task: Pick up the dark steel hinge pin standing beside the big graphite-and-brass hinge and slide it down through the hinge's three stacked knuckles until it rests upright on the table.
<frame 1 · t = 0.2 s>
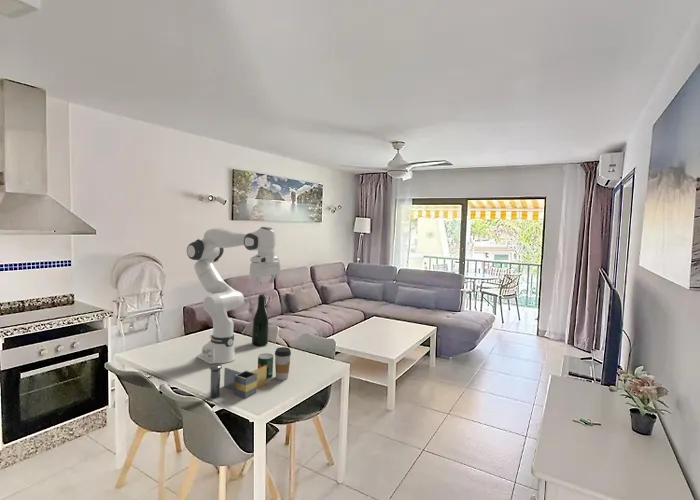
hand: (265, 284, 199), 48 cm above the table, fingers open, 8 cm apart
hinge pin: (214, 396, 172), on the table
green wine bottle: (259, 344, 247), on the table
canned tomato: (265, 376, 197), on the table
coffee cup: (281, 378, 196), on the table
hinge leaves: (245, 393, 176), on the table
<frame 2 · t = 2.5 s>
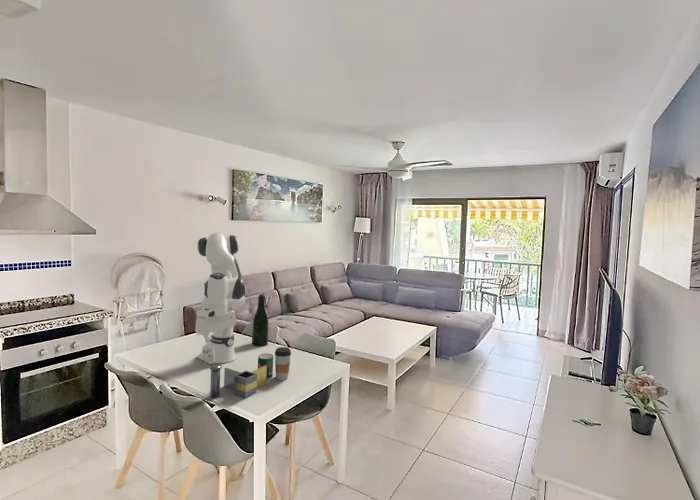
hand: (216, 340, 170), 26 cm above the table, fingers open, 8 cm apart
nothing on the table moved.
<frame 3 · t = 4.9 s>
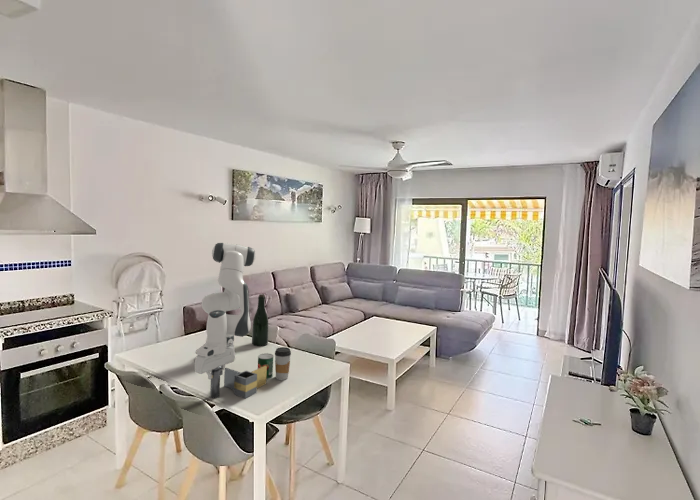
hand: (215, 376, 171), 9 cm above the table, fingers closed on hinge pin, 4 cm apart
hinge pin: (214, 396, 172), on the table, touching gripper
everything else where it was.
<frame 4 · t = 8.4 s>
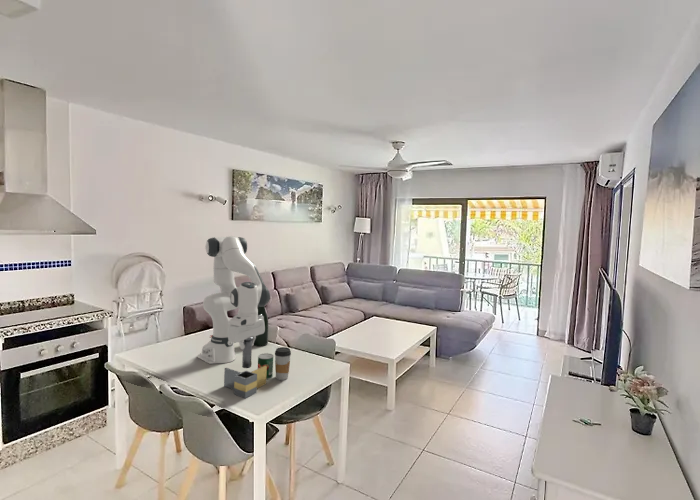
hand: (247, 347, 175), 22 cm above the table, fingers closed on hinge pin, 4 cm apart
hinge pin: (246, 366, 175), point 13 cm above the table, touching gripper
everything else where it was.
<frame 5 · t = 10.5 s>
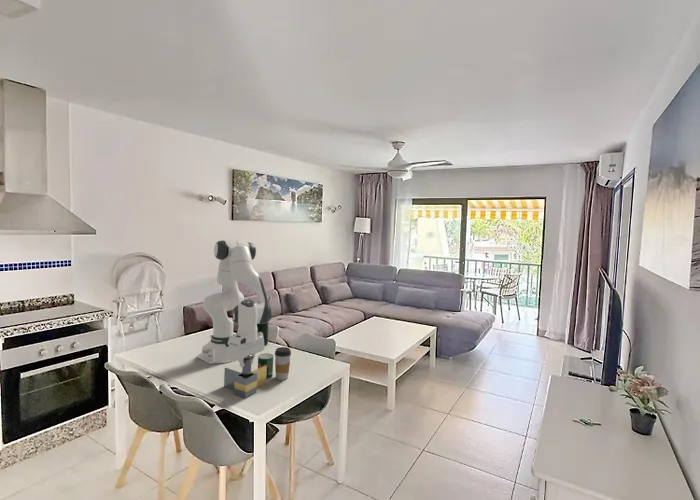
hand: (246, 365, 175), 14 cm above the table, fingers closed on hinge pin, 4 cm apart
hinge pin: (246, 384, 176), point 4 cm above the table, touching gripper
everything else where it was.
when the fingers open (11 cm above the table, at t = 12.0 s): hinge pin drops 1 cm, resting in hinge leaves.
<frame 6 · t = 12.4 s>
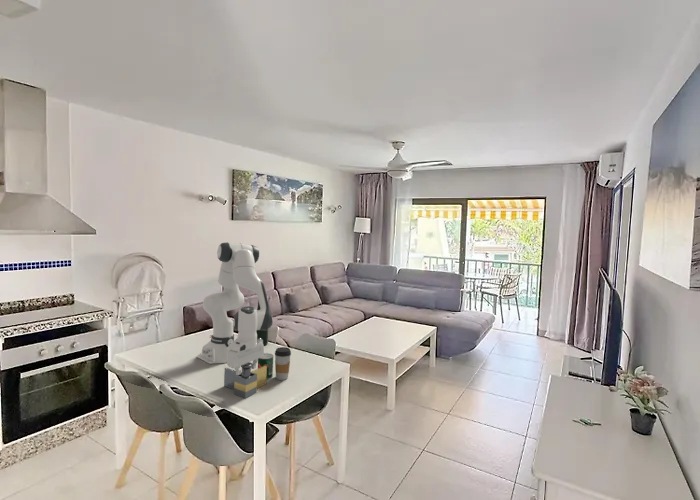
hand: (246, 371, 176), 11 cm above the table, fingers open, 8 cm apart
hinge pin: (245, 393, 176), resting in hinge leaves
everything else where it was.
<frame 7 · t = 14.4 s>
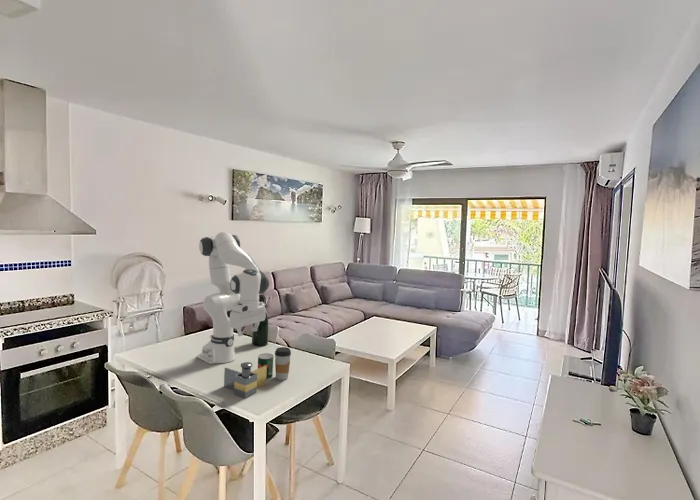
hand: (247, 333, 178), 28 cm above the table, fingers open, 8 cm apart
nothing on the table moved.
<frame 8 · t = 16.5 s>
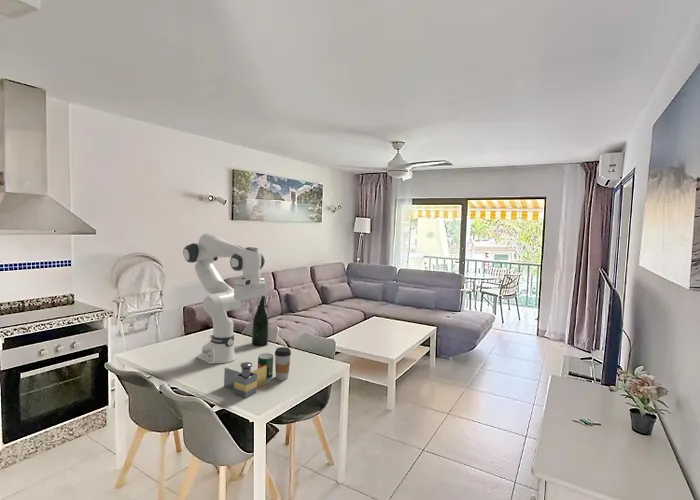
hand: (250, 306, 192), 37 cm above the table, fingers open, 8 cm apart
nothing on the table moved.
at the end: hinge pin 0.0 cm off-centre on the hinge leaves, point 0.0 cm above the hinge leaves's base; hinge pin tilted 0°; the gripper is holding nothing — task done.
